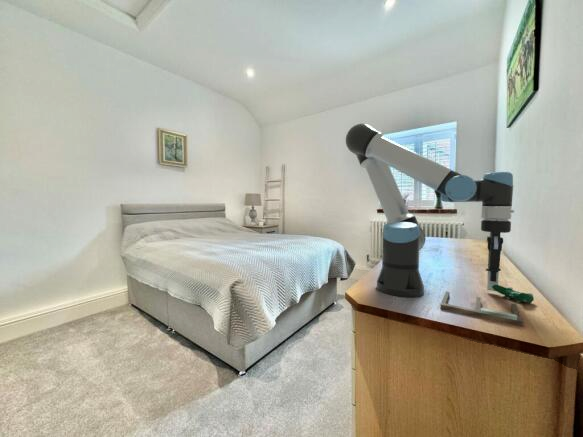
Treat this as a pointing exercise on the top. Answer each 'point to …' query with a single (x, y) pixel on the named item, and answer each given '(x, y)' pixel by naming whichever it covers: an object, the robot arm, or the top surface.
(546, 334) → the top surface
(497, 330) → the top surface
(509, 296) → the gaming controller
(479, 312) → the letter e shape
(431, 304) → the top surface
